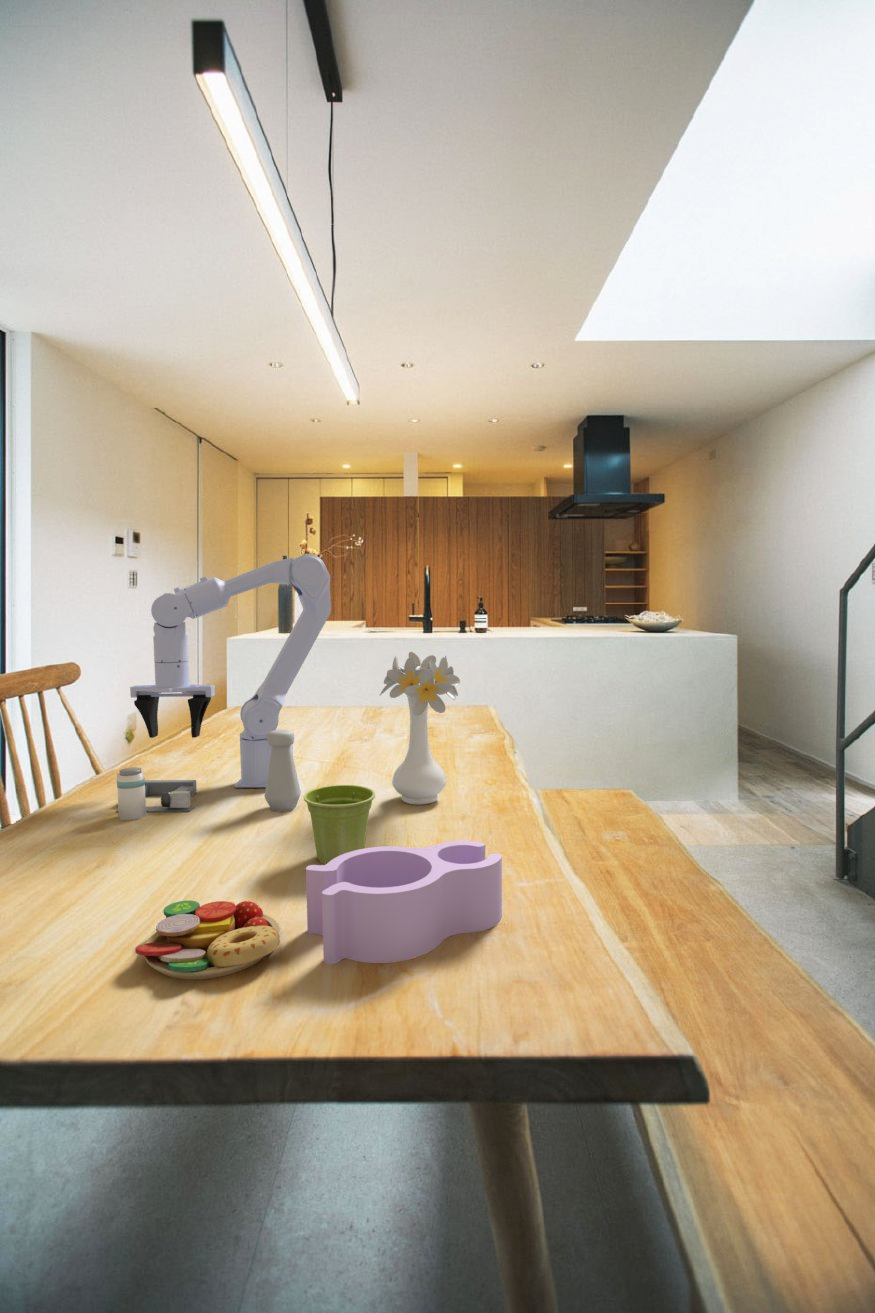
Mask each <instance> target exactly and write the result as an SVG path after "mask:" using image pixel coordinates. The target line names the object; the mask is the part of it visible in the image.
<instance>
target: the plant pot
mask: <svg viewBox="0 0 875 1313" xmlns="http://www.w3.org/2000/svg"><path fill="white" fill-rule="evenodd" d="M375 798H376V791H375V790H373V789H372V788H369V787H367V786H362V785H357V784H356V785H354V784H335V785H334V784H333V785H332V784H331V785H325V786H320V787H317V788H316V787H315V788H313V789H310V790H308V791H307V792H305V793H304V795H303V801H304V802H305V803H306V806H307V810H308V812H309V814H310V819H311V825H312V826H311V827H312V833H313V840H314V846H315V852H316V858H317V859H318V860H319V862H320V863H321V864H323V865H326V864H327V863H328V862H330V861H331V860H332V859H334V858H336V857H338V856H340V855H342V854H345V853H348V852H351V851H355V850H359V849H364V848H366V847H365V845H366V836H367V830H368V822H369V814H370V809H371V808H372V805H373V804H372V803H373V800H374V799H375Z"/></svg>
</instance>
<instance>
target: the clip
mask: <svg viewBox="0 0 875 1313" xmlns="http://www.w3.org/2000/svg"><path fill="white" fill-rule="evenodd" d="M502 859H503V856H502V854H501V853H489V854H488V856H487V858H486V843H484V842H481V841H476V840H475V841H474V840H452V841H446V842H445V841H444V842H441V843H437V844H435V845H431V846H427V847H409V846H408V847H407V846H396V845H395V846H394V845H393V846H389V845H388V846H387V845H386V846H374V847H373V846H372V847H364V849H359V850H355V851H351V852H348V853H345V854H342V855H340V856H338V857H336V858H334V859H332V860H331V861H330V862H328V863H327V864H323V865H321V864H309V865H307V866H306V868H305V880H306V882H305V885H306V886H305V887H306V888H305V889H306V890H305V891H306V923H307V924H306V925H307V933H308V934H312V935H321V936H322V946H323V948H322V949H323V951H322V952H323V953H322V954H323V963H324V964H327V965H335V964H337V963H338V962H339V961H341V960H343V959H348V960H352V961H356V962H361V963H373V964H386V963H387V964H388V963H396V962H397V963H398V962H403V961H408V960H412V959H415V958H418V957H420V956H421V957H422V956H423V955H425V954H427V953H430V952H431V951H433V950H435V948H437V947H438V946H439V945H441V943H442V942H443V941H444V940H445V939H446V938H448V937H450V936H454V935H458V934H469V933H470V934H471V933H478V932H483V931H486V930H489V929H492V928H494V927H496V926H497V925H498V924H500V922H501V921H502V917H503V860H502Z"/></svg>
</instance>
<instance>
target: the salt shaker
mask: <svg viewBox="0 0 875 1313" xmlns="http://www.w3.org/2000/svg"><path fill="white" fill-rule="evenodd" d="M267 741H268V745H270V746H272V748H271V756H270V763H269V771H268V777H267V783H266V787H265V791H264V798H265V802H266V803H267V804H268V806H269V809H271V811H272V812H277V813H284V812H290V811H293V810H294V809H296V807H297V804H298V801H299V799H300V797H301V793H302V791H301V786H300V782H299V781H300V780H299V778H298V772H297V768H296V764H295V759H294V753H293V754H292V749H291V745H292V744H294V742H295V734H294V732H293V731H292V730H290V729H285V728H283V729H282V728H281V729H276V730H274V731H271V732H270V733H269V734H268V738H267Z"/></svg>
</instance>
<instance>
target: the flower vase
mask: <svg viewBox="0 0 875 1313" xmlns="http://www.w3.org/2000/svg"><path fill="white" fill-rule="evenodd" d="M436 663H437V656H435V655H434V654H433V655H431V654H430V655H428V656H426V657H425V658H424V659H423V660H422V661H421V659H420V658H419V656H418V654H416V653H415V652H413V651H409V652H408V658H407V659H406V660H405V663H404V666H403V665H399V661H398V657H397V655H394V658H393V661H392V668H391V669H388V670H387V671H386V676H385V678H384V680H383V684H384V685H385V686H384V687H383V688H382V690H381V692H380V693H379V696H382V695H383V694H384V693H386V692H387V690H389V689H390V688H392V689H391V690H390V692H389V697H390V698H391V699H395V698H397V697H400V696H402V695H403V694H405V695H406V697H407V700H408V701H407V703H408V708H409V743H408V750H407V753H406V755H405V758H404V760H403V761H402V762H401V763H400V765H398V767H397V768H396V770H395V771H394V772H393V776H392V779H391V784H392V787H393V788H394V790H395V791H396V792H397V793H398V794H399V795H401V800H402V802H404V803H405V804H408V805H417V806H418V805H429V804H433V803H435V802H437V801H438V797H439V796H438V795H439V794H441V793H442V791H443V790H445V787H446V785H447V780H448V779H447V775H446V772H445V771H444V770H443V768H442V767H441V766H440V764H438V762H437V761H436V760H435V759H434V757H433V756H434V755H433V754H432V751H431V748H430V743H429V741H430V740H429V727H428V725H429V724H428V710H429V706H430V708H431V709H433V711H435V712H437V713H439V714H443V713H445V712H446V704H445V703H444V701H443V699H442V698H441V697H440V696H441V695H445V694H446V695H447V696H448V697H449V698H450V699H451V700H452V701H455V700H456V699H457V697H458V696H459V693H458V690H457V688H456V686H458V685H460V683H461V680H460V678H459V676H457V675H455V673H454V672H455V671H454V668H453V666H452V665H451V666H449V664H448V659H447V656H446V655H444V656H443V657H442V658H440V661H439V663H438V666H437V665H436Z"/></svg>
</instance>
